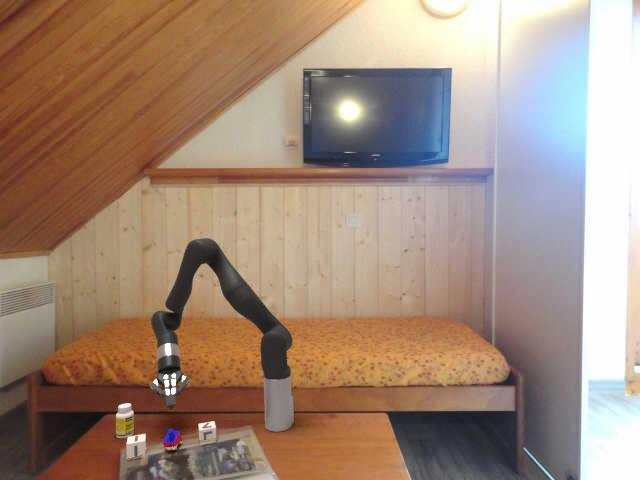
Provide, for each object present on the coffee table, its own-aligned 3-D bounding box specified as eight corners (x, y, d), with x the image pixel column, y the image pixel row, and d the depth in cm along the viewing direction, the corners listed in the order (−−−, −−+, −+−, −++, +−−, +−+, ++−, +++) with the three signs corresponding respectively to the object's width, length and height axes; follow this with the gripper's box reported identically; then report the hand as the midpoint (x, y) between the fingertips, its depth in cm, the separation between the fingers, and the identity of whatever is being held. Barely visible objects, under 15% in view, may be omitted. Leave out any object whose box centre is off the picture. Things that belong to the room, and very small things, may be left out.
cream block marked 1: (146, 449, 123) (145, 433, 123) (145, 458, 119) (144, 440, 119) (128, 453, 122) (127, 436, 122) (126, 461, 117) (126, 444, 117)
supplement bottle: (126, 439, 130) (126, 409, 130) (112, 438, 131) (111, 408, 131) (137, 431, 135) (137, 402, 136) (123, 430, 137) (122, 401, 137)
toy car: (166, 453, 124) (160, 436, 120) (172, 441, 127) (166, 424, 124) (177, 454, 123) (171, 436, 120) (183, 441, 127) (177, 424, 123)
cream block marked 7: (214, 436, 131) (214, 420, 131) (216, 443, 126) (215, 427, 126) (198, 439, 129) (198, 423, 129) (199, 446, 124) (199, 430, 124)
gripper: (147, 356, 135) (148, 406, 124) (188, 351, 140) (193, 398, 129) (148, 368, 140) (149, 416, 129) (187, 362, 145) (192, 409, 134)
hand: (171, 407), depth 129 cm, fingers closed
